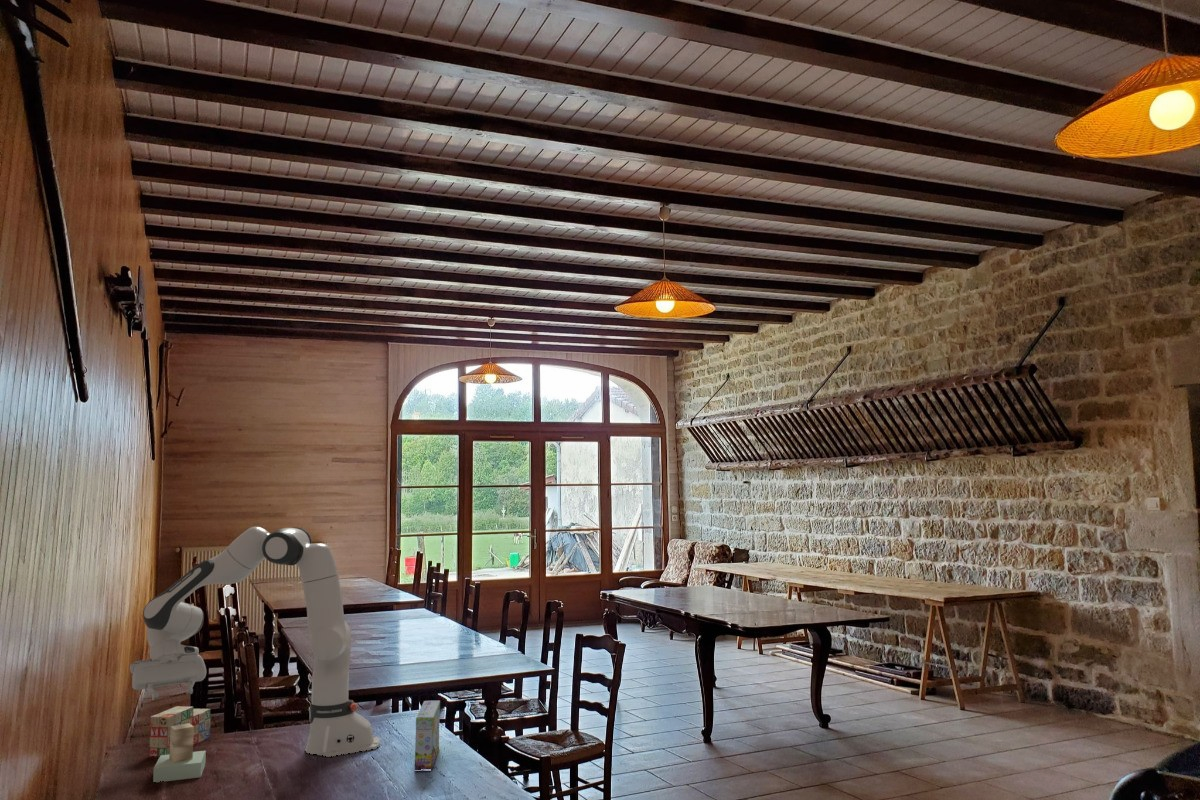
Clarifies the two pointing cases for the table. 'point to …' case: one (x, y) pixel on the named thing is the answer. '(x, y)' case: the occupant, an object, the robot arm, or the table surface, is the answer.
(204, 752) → the plinth
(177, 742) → the maple block
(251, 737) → the table surface
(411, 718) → the table surface
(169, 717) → the stack of blocks
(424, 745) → the snack box
